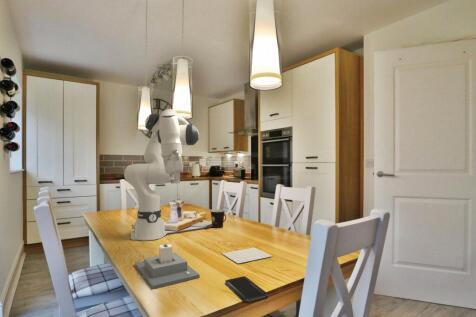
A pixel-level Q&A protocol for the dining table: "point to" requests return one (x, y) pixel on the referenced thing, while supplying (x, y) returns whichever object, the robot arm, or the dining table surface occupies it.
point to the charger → (165, 253)
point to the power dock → (167, 277)
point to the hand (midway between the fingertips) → (175, 183)
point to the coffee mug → (217, 218)
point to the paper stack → (246, 255)
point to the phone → (246, 289)
